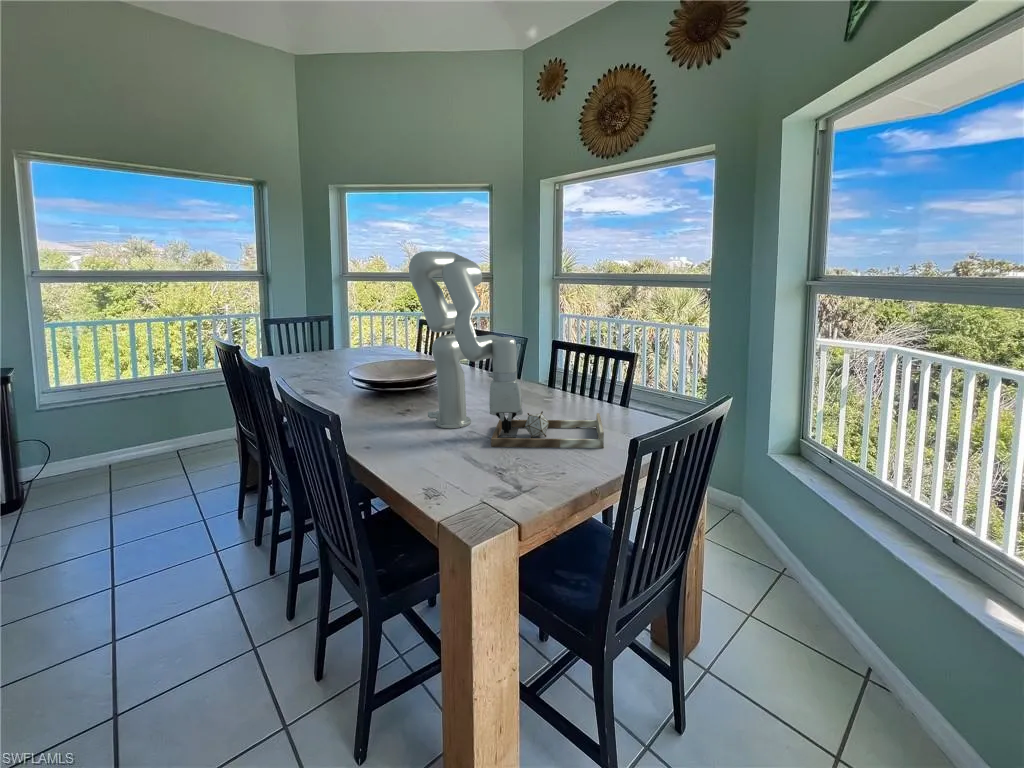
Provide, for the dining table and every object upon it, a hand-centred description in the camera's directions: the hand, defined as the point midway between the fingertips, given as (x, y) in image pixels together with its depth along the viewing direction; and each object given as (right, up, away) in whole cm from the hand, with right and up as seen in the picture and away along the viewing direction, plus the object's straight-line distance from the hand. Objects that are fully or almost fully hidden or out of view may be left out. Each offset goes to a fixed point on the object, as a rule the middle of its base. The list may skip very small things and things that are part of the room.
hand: (506, 431), depth 163 cm
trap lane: (+13, -1, -1) cm, 13 cm away
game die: (+10, -2, -1) cm, 10 cm away
